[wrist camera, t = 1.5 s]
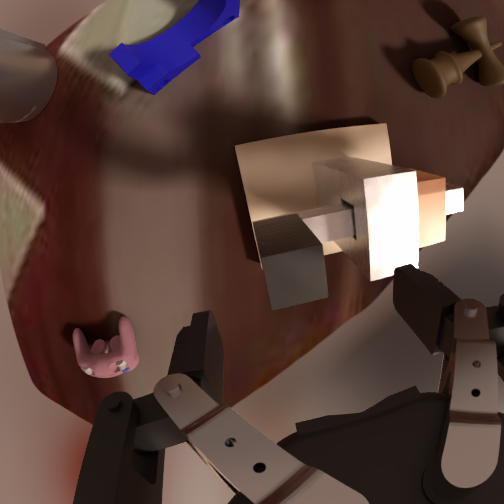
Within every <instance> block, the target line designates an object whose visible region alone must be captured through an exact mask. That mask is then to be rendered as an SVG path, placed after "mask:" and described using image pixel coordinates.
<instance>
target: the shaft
mask: <svg viewBox="0 0 504 504" xmlns="http://www.w3.org/2000/svg"><path fill="white" fill-rule="evenodd" d="M445 185H446V215H447V214H451V213H455V212H459V211H463V188H462V187H459V186H456V185H452V184H445ZM252 224H253V228H254V233H255V237H256V242H257V247H258V251H259V255H260V259H261V264H262V268H263V272H264V277H265V281H266V285H267V290H268V294H269V298H270V302H271V307H272V310H276V309H280V308H285V307H289V306H294V305H298V304H302V303H306V302H310V301H314V300H318V299H322V298H326V297H328V289H327V279H326V270H325V261H324V252H323V244H322V243H324V242H329V241H333V240H338V239H342V238H347V237H351V236H355V235H356V225H355V214H354V206H353V205H351V204H350V203H348V202H344V203H339V204H334V205H329V206H324V207H319V208H314V209H309V210H304V211H299V212H294V213H290V214H285V215H280V216H276V217H271V218H266V219H262V220H257V221H253V222H252Z"/></svg>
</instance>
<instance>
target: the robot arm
mask: <svg viewBox="0 0 504 504" xmlns="http://www.w3.org/2000/svg"><path fill="white" fill-rule="evenodd" d="M57 72H58V71H57V64H56V61H55V59H54V57H53V56H52V55H51V54H50V53H49V52H47V51H46V47H45V44H42V43H39V42H37V41H34V40H31V39H29V38H26V37H23V36H20V35H18V34H14V33H12V32H9V31H6V30H2V29H0V123H9V122H11V123H16V122H25V121H29V120H31V119H33V118H34V117H36V116H37V115H38V114H39V113H40V112H41V111H42V110H43V109H44V108H45V106H46V105H47V104H48V102H49V100H50V98H51V96H52V94H53V92H54V89H55V86H56V81H57ZM393 303H394V306H395V309H396V311H397V312H398V313H399V314H400V316H401V317H402V318H403V319H404V320H405V321H406V323H407V324H408V325H409V326H410V328H411V329H412V330H413V331H414V333H415V334H416V335H417V336H418V337H419V339H420V340H421V341H422V343H423V344H424V345H425V346H426V348H427V349H428V350H429V351H430V353H431V354H432V355H435V354H438V353H440V352H442V351H443V353H444V357H443V362H442V369H441V376H440V383H439V389H438V393H436V392H426V393H420V392H419V391H418V389H417V387H416V386H413V387H411V388H409V389H406V390H403V391H401V392H398V393H396V394H393V395H391V396H388V397H387V398H385V399H384V400H382V401H380V402H379V403H377V404H376V405H374V406H373V407H371V408H369V409H367V410H365V411H364V412H361V413H354V414H342V415H328V416H324V417H320V418H316V419H312V420H307V421H303V422H299V423H296V429H297V432H295V433H293V434H291V435H289V436H287V437H285V438H284V439H282V440H281V441H279V442H278V443H277V444H275V443H274V442H272V441H271V440H270V439H268V438H267V437H266V436H264V435H263V434H262V433H261V432H259V431H258V430H257V429H256V428H254V427H253V426H252V425H251V424H249V423H248V422H247V421H246V420H244V419H243V418H242V417H241V416H239V415H238V414H237V413H236V412H235V411H233V410H232V409H231V408H230V407H229V406H227V405H225V404H223V366H224V349H223V343H222V340H221V337H220V334H219V331H218V328H217V325H216V322H215V319H214V316H213V313H212V311H211V310H209V311H204V312H198V313H194V314H193V316H192V321H191V326H186V327H183V328H182V330H181V331H180V332H179V333H178V335H177V338H176V342H175V346H174V350H173V351H174V352H173V354H172V358H171V362H170V367H169V371H168V375H167V376H166V377H164V378H162V379H161V380H160V381H159V382H158V383H157V384H156V386H155V388H154V392H153V393H151V394H149V395H146V396H143V397H140V398H137V399H133V398H132V397H131V396H130V395H129V394H128V393H126V392H115V393H112V394H110V395H108V396H107V397H105V398H104V399H103V400H102V402H101V403H100V405H99V408H98V411H97V414H96V417H95V420H94V424H93V427H92V431H91V434H90V437H89V441H88V444H87V448H86V451H85V456H84V459H83V463H82V467H81V470H80V475H79V479H78V484H77V487H76V492H75V496H74V501H73V504H162V488H163V471H164V457H165V448H167V447H171V446H174V445H177V444H180V443H183V442H187V443H188V445H189V446H190V447H191V448H192V449H193V450H194V452H196V454H197V455H198V456H199V457H200V458H201V459H202V460H203V461H204V462H205V464H206V465H207V466H208V467H209V468H210V469H211V470H212V471H213V472H214V473H215V474H216V475H217V477H218V478H219V479H220V480H221V481H222V482H223V483H224V484H225V485H226V486H227V487H228V488H229V489H230V490H231V491H232V492H233V493H234V494H235V496H234V497H233V498H232V499H231V501H230V502H229V503H228V504H504V414H503V413H500V412H498V374H499V376H500V377H501V378H502V380H503V381H504V294H503V295H501V297H500V300H499V304H498V306H493V307H486V308H485V306H484V305H483V304H482V303H481V302H479V301H477V300H474V299H463V300H461V299H460V298H459V297H458V296H457V295H455V294H454V293H453V292H452V291H451V290H450V289H449V288H447V287H446V286H444V284H443V283H441V282H439V280H438V279H436V278H435V277H434V276H433V275H431V274H429V273H426V272H423V271H420V270H419V269H417V268H416V267H415V266H414V265H412V264H406V265H403V266H399V267H396V268H395V269H394V281H393Z"/></svg>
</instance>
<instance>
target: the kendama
mask: <svg viewBox="0 0 504 504" xmlns="http://www.w3.org/2000/svg"><path fill="white" fill-rule="evenodd" d="M450 29H451V30H452V31H453V32H454V33H456V34H457V35H458V36H460V37H461V38H462V39H464V40H465V41H466V42H467V43H468V44H469V46H470V48H471V49H472V50H471V51H467V52H463V53H458V54H449V53H447V52H445V51H439V52H437V53H436V54H435V56H434V59H432V60H428V59H426V58H418V59H416V60H415V61H413V64H412V71H413V75H414V77H415V80H416V82H417V83H418V85H419V86H420V88H421V89H422V90H423V91H424V92H425V93H426V94H427V95H429V96H431V97H432V98H437V99H438V98H441V97H444V95H445V93H446V91H447V87H446V86H448V85H449V84H452V85H459V84H461V82H462V80H463V76H462V74H463V72H464V71H465V70H466V69H467V68H468V67H470V66H471V65H472V64H473V63H474V62H475V61H477V63H478V80H479V83H480V84H481V85H483V86H497V85H501V84H504V66H503V65H502V64H501V63H500V62H499V60H498V59H497V58H496V56H495V54H494V52H493V50H494V49H496V48H497V47H499V46H501V45H502V42H501V41H498V42H495V43H492V44H489V41H488V38H487V23H486V18H485V17H473V18H469V19H465V20H462V21H459V22H457V23H455V24H453V25H452V26H451V27H450Z"/></svg>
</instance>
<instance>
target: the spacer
mask: <svg viewBox="0 0 504 504" xmlns="http://www.w3.org/2000/svg"><path fill="white" fill-rule="evenodd" d="M410 170H414V169H410ZM414 171H416V177H417V192H418V225H419V238H418V248H421V247H425V246H428V245H432V244H435V243H439V242H442V241H445V233H446V185H445V178H444V177H441V176H437V175H434V174H430V173H426V172H422V171H418V170H414Z"/></svg>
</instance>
